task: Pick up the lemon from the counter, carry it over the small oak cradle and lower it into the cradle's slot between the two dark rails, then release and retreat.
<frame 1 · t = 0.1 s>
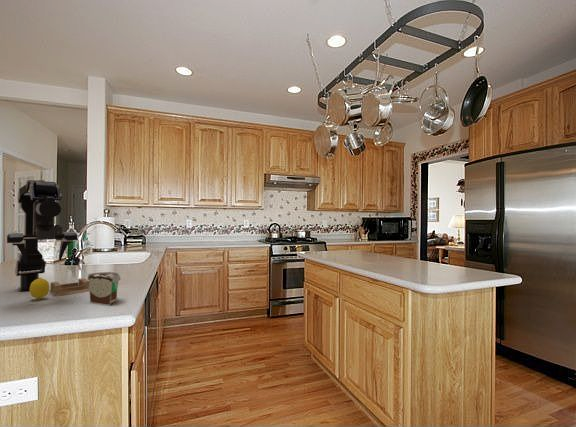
hand: (43, 261, 104), 14 cm above the counter, fingers open, 9 cm apart
cradle: (70, 291, 119), on the counter
food container: (107, 302, 107), on the counter
lemon: (39, 300, 108), on the counter
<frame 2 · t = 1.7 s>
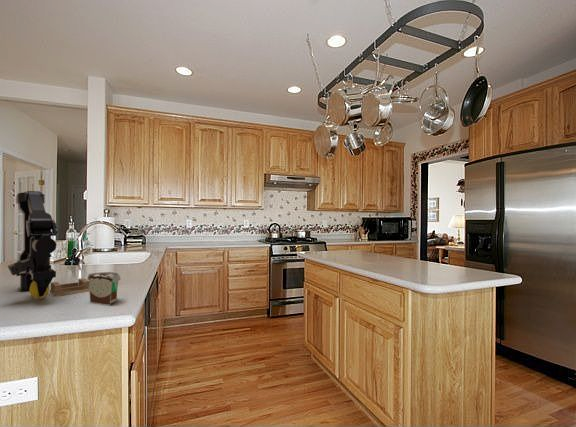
hand: (39, 294, 108), 2 cm above the counter, fingers closed on lemon, 5 cm apart
lemon: (39, 300, 108), on the counter, touching gripper
everything else where it was.
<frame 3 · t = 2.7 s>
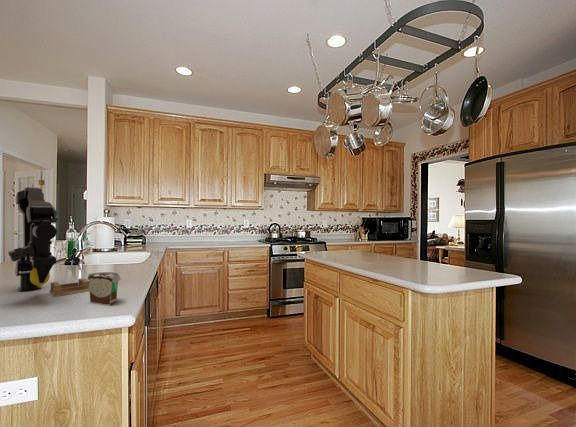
hand: (39, 281, 108), 7 cm above the counter, fingers closed on lemon, 5 cm apart
lemon: (39, 287, 108), point 4 cm above the counter, touching gripper
everything else where it was.
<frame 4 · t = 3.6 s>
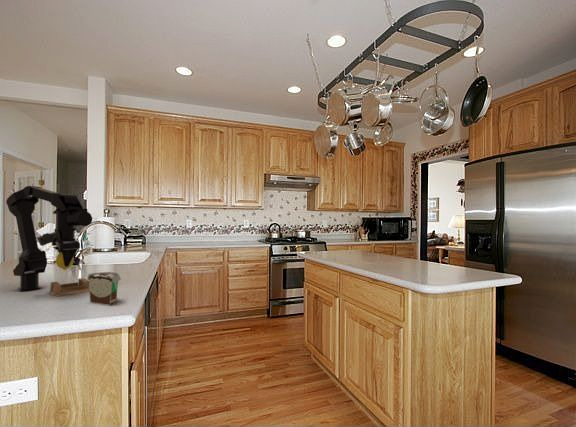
hand: (64, 265, 117), 11 cm above the counter, fingers closed on lemon, 5 cm apart
lemon: (64, 270, 117), point 9 cm above the counter, touching gripper
everything else where it was.
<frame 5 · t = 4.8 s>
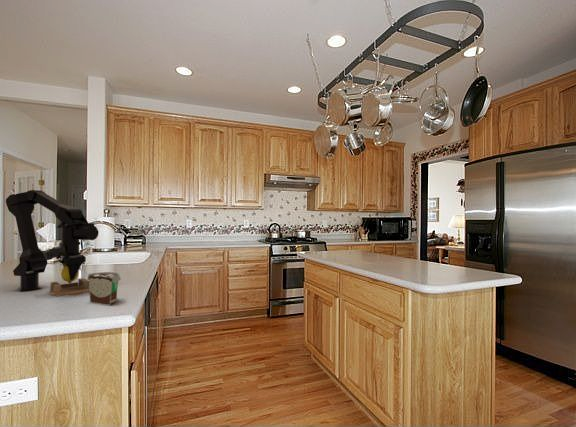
hand: (69, 278, 119), 5 cm above the counter, fingers closed on lemon, 5 cm apart
lemon: (69, 283, 119), point 3 cm above the counter, touching gripper
everything else where it was.
when the fingers open (4 cm above the counter, at t = 5.4 s): lemon drops 2 cm, resting on cradle.
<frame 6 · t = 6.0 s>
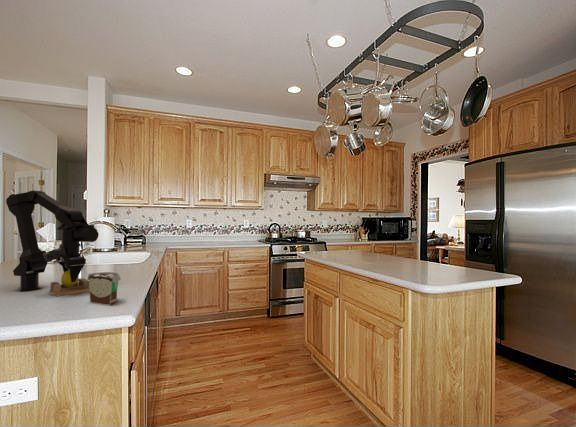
hand: (70, 280, 119), 4 cm above the counter, fingers open, 9 cm apart
lemon: (70, 289, 119), point 1 cm above the counter, touching cradle
everything else where it was.
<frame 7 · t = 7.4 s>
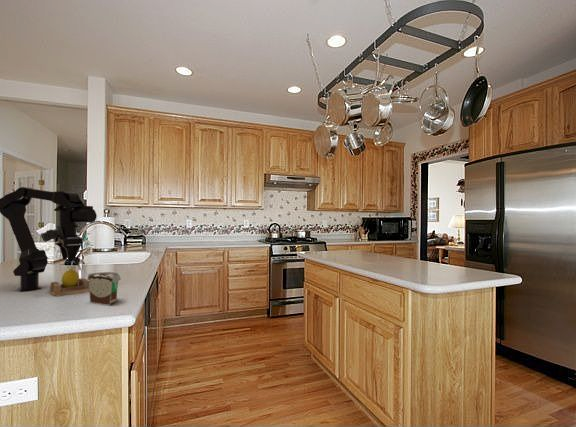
hand: (67, 260, 122), 12 cm above the counter, fingers open, 9 cm apart
nothing on the counter moved.
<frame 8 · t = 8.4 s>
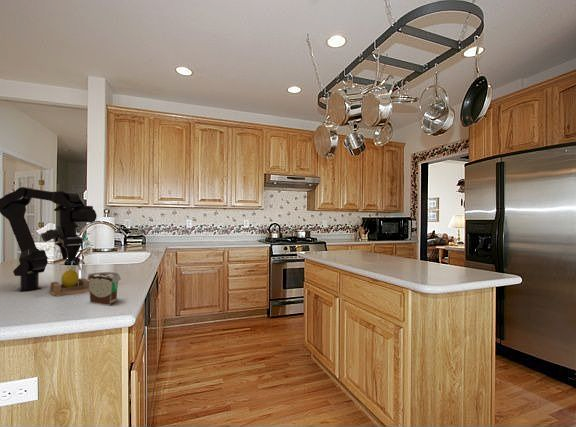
hand: (67, 260, 122), 12 cm above the counter, fingers open, 9 cm apart
nothing on the counter moved.
at the end: lemon inside the target area on the cradle (0.0 cm from its centre), point 0.8 cm above the cradle's base; the gripper is holding nothing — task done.
